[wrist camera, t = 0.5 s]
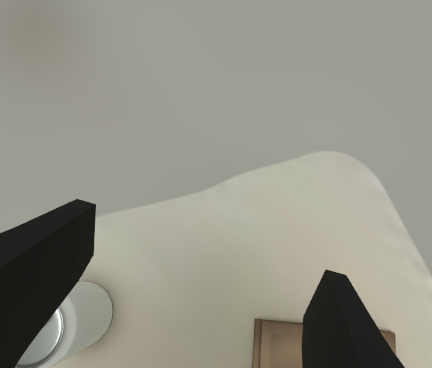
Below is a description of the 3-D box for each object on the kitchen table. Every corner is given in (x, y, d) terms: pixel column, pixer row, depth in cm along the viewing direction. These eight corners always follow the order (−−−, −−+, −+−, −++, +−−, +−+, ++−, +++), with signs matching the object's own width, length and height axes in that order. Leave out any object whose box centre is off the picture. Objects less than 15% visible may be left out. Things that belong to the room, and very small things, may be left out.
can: (126, 304, 39) (87, 317, 27) (87, 359, 37) (29, 398, 26) (78, 269, 39) (21, 266, 28) (39, 321, 38) (-39, 342, 26)
